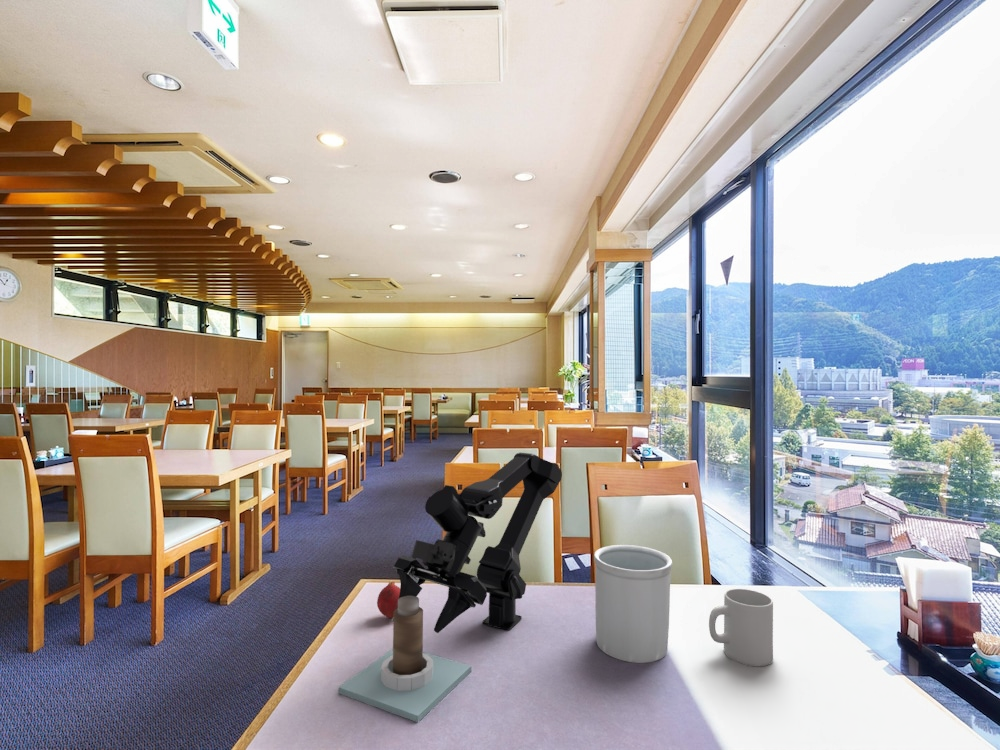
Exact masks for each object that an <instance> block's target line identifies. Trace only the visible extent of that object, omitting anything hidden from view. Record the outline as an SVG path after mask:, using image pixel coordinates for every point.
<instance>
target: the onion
mask: <svg viewBox="0 0 1000 750" xmlns="http://www.w3.org/2000/svg"><path fill="white" fill-rule="evenodd" d="M395 583H396V582H395V581H394V580H393V579H391V580H390V581H389V582H388V584H387V585H386V586H385V587H383V588H382V589H381V590H380V592H379V594H378V596H377V601H376V604H377V608H378V610H379V612H380V613H381V614H382V615H383V616H384V617H386V618H388V619H393V615H394V610H395V609H397V605H398V599H399V594H400V587H399V586H397V585H396V584H395Z"/></svg>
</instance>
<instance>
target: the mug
mask: <svg viewBox="0 0 1000 750" xmlns="http://www.w3.org/2000/svg"><path fill="white" fill-rule="evenodd" d="M723 598H724V599H723V600H724V601H723V602H724V604H723V605H719V606H716V607H714V608H712V610H711V611H710V614H709V617H708V628H709V634H710V637H711V639H712V640H713V641H714V642H716V643H717V644H718V643H719V644H723V651H724V653H725V655H726V657H728V658H729V659H730V660H733V662H734V661H735V663H739V664H742V665H746V666H749V667H750V666H751V667H766V666H769V665H771V664H772V662H773V660H774V644H773V643H774V635H773V634H774V618H773V617H774V601H773V599H772V598H771V597H770V596H768V595H767V594H765V593H763V592H759V591H756V590H752V589H745V588H733V589H732V588H731V589H729V590H726V591H725V592H724V596H723ZM722 615H723V616H724V617H723V627H724V628H723V633H717V631H716V622H717V619H718V617H719V616H722Z"/></svg>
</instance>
